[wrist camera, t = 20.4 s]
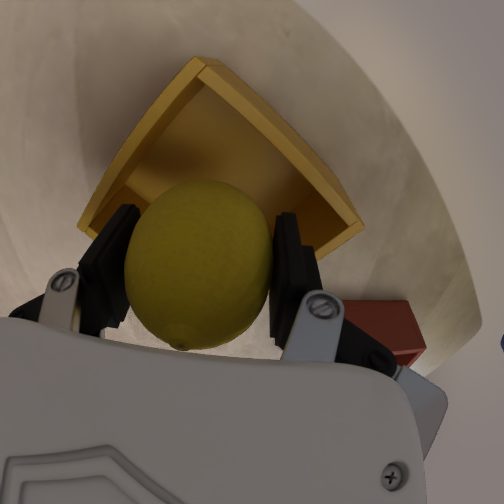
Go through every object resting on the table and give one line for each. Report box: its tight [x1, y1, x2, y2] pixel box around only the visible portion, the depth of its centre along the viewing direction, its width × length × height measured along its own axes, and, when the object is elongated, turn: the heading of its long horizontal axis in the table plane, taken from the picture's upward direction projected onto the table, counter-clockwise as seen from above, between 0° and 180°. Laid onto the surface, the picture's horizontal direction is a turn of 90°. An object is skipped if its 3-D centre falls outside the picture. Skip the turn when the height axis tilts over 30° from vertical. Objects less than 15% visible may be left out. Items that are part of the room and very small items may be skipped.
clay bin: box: [341, 300, 427, 368], centre depth 24 cm, size 9×9×6 cm
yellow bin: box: [77, 56, 365, 294], centre depth 14 cm, size 10×10×6 cm
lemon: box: [124, 179, 274, 351], centre depth 11 cm, size 6×6×8 cm
